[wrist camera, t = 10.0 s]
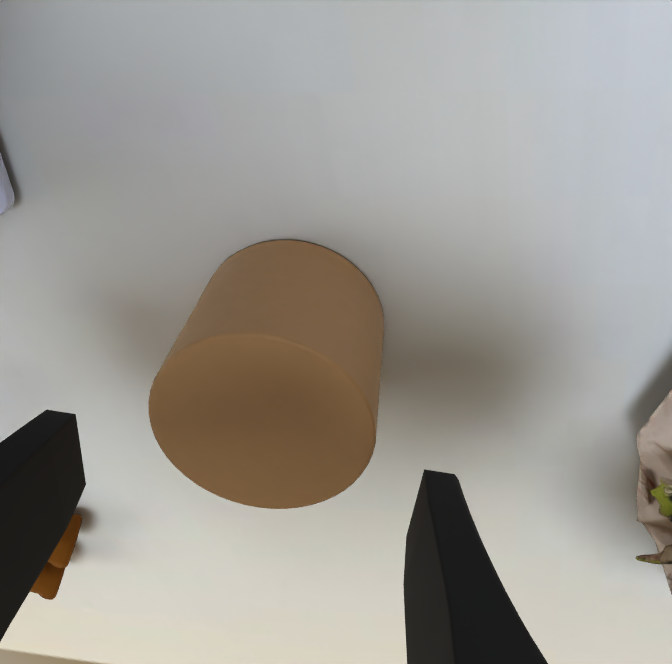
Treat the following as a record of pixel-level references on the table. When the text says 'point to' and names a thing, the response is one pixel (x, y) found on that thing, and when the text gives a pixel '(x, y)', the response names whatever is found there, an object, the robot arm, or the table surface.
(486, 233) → the table surface
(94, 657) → the table surface
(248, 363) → the brown cylinder block
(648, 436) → the bear figurine
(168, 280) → the table surface
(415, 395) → the table surface
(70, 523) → the toy figurine
